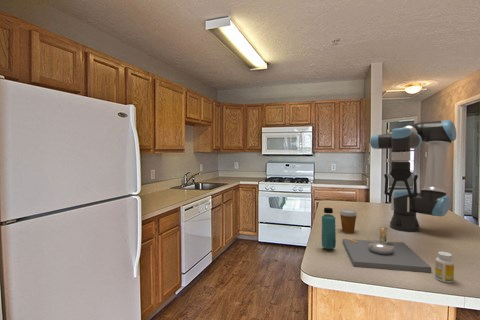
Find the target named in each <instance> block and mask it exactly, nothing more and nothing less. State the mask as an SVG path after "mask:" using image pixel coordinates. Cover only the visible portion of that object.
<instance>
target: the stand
mask: <svg viewBox="0 0 480 320" xmlns="http://www.w3.org/2000/svg"><path fill="white" fill-rule="evenodd" d="M369 241H371V240H369V239H366V240H365V239H353V238H352V239H351V238H342V245H343V247H344V249H345V252H346V253H347V255H348V257H349V259H350V262H351V264H352V266H353V267H358V268H359V267H360V268H372V269H379V270H380V269H381V270H383V269H385V270H393V271H406V272H418V273H419V272H420V273H432V267H431V266H430V265H429V264H428V263H427V262H426V261H425V260H424V259H422V257H420V256H419V255H418V254H417V253H416V252H415V251H414V250H413V249H411V248H410V247H409V246H408V245H407V244H406V243H405V242H403V241H402V242H401V241H386V242H389V243H392V244H393V245H394V253H393V254H391V255H381V254H376V253H373V252H371V251H370V250H369V249H368V242H369Z"/></svg>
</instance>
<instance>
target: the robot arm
mask: <svg viewBox="0 0 480 320" xmlns="http://www.w3.org/2000/svg"><path fill="white" fill-rule="evenodd" d="M456 129H457V128H456V126H455V123H454V122H453V121H452V120H449V119H448V120H443V119H441V120H433V121H422V122H416V123H412V124H409V125H406V126H403V127H397V128H393V129H392V130H391V132H388V133H384V134H374V135H372V136H371V137H370V141H369V142H370V147H371V148H372V149H375V150H377V149H378V150H381V149H382V150H383V149H387V150H388V149H391V161H392V162H391V164H390V165H391V168H390V169H391V170H390V172H389V173H384V174H383V176H384V195H385V196H388V203H389V204H391V205H390V206H391V207H390V208H391V210H390V211H393V215H392V217H391V218H390V219H391V220H390V221H389V222H390V223H389V227H390V228H391V229H393V230H396V231H399V232H400V231H401V232H407V233H408V232H409V233H411V232H412V233H413V232H419V231H421V229H420V228H421V226H420V224H419V220H418V218H417V214H423V215H426V216H427V215H428V216H433V217H444V216H446V214H447V213H448V211H449V209H450V205H451V198H450V196H449V195H447V191H445V190H444V185H445V176H446V175H445V174H446V166H447V165H446V164H447V154H448V147H450V146H451V145H452V142H453V141H456V139H457V130H456ZM424 142H425V145H427V146H428V148H427V149H428V150H427V159H426V167H425V168H426V170H425V177H424V178H425V179H424V185H423V188H421V189H420V192H418V184H417V182H418V181H417V180H418V178H419V177H418V176H419V175H418V174H414V173H412V171H411V162H410V161H411V149H416V148H417V149H418V148H419V147H420V146H421V144H422V143H424ZM391 177H392V179H393V182H392V184H391V187H390V190H389V178H391ZM410 177H411V179H412V181H413V182H412V183H413V185H412V186H413V189H411V187H410V185H409V184H410V183H409V182H408V179H409V178H410ZM397 182H404V185H405V188H406V189H398V190H397V189H396V190H395V186H396V184H397ZM394 190H395V191H394Z"/></svg>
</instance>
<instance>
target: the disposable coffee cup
mask: <svg viewBox="0 0 480 320" xmlns="http://www.w3.org/2000/svg"><path fill="white" fill-rule="evenodd" d="M339 215H340V222H341V223H340V224H341V230H342V232H343V233H346V234H354V233H355V228H356V227H355V226H356V222H357V221H356V220H357V215H358V212H357V211H356V210H354V209H347V208H346V209H340V210H339Z"/></svg>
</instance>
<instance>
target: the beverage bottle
mask: <svg viewBox="0 0 480 320" xmlns="http://www.w3.org/2000/svg"><path fill="white" fill-rule="evenodd" d="M323 213H325V214H323V215H322V216H321V247H322V248H325V249H328V250H332V249H336V247H337V245H336V244H337V243H336V242H337V237H336V235H337V234H336V229H337V228H336V217H335V216H334V215H333V213H334V209H333V208H332V207H324V208H323Z"/></svg>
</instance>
